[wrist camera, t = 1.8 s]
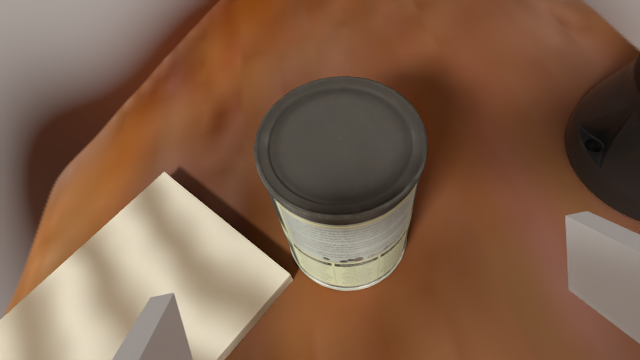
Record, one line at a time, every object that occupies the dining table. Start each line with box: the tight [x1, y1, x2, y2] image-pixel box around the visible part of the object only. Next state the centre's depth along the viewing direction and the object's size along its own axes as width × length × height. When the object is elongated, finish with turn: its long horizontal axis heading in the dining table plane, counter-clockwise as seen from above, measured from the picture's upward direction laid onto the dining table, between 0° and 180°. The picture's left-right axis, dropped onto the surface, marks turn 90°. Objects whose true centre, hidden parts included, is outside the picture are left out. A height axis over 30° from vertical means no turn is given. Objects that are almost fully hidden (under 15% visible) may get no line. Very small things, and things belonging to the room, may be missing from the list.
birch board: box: [0, 172, 293, 360], centre depth 36 cm, size 20×16×2 cm
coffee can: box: [254, 76, 427, 291], centre depth 32 cm, size 10×10×14 cm
